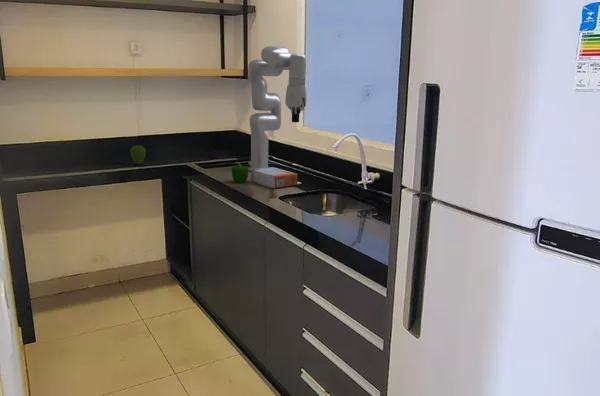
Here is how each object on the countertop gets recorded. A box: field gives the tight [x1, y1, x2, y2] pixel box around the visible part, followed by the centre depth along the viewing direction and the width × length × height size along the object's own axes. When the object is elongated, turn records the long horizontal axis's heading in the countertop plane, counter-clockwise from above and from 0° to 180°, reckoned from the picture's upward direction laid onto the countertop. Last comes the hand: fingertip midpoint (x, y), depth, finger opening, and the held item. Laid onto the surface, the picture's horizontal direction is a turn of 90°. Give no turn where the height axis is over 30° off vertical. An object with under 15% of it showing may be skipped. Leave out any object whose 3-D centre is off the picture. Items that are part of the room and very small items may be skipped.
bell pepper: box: [231, 161, 250, 184], centre depth 255 cm, size 8×8×10 cm
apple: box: [129, 144, 147, 165], centre depth 291 cm, size 9×8×12 cm
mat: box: [255, 181, 302, 189], centre depth 255 cm, size 14×18×1 cm
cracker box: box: [250, 166, 299, 189], centre depth 254 cm, size 14×6×21 cm
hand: (295, 122), depth 240 cm, fingers closed
